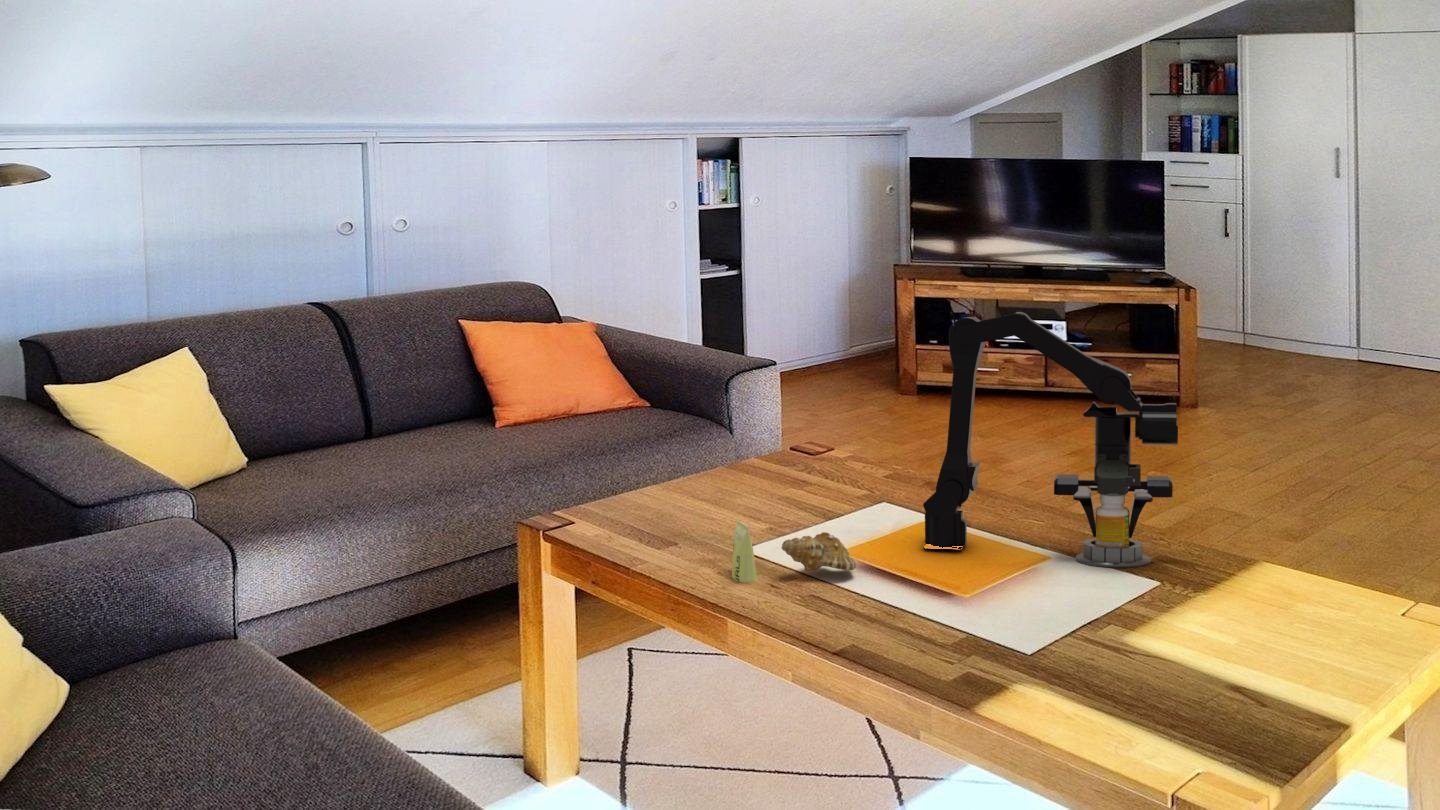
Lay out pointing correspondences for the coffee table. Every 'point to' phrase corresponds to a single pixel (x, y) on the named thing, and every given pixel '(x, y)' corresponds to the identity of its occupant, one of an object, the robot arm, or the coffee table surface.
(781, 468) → the coffee table surface
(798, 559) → the seashell
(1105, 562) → the collar stand
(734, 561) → the tube
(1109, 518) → the supplement bottle
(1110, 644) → the coffee table surface
